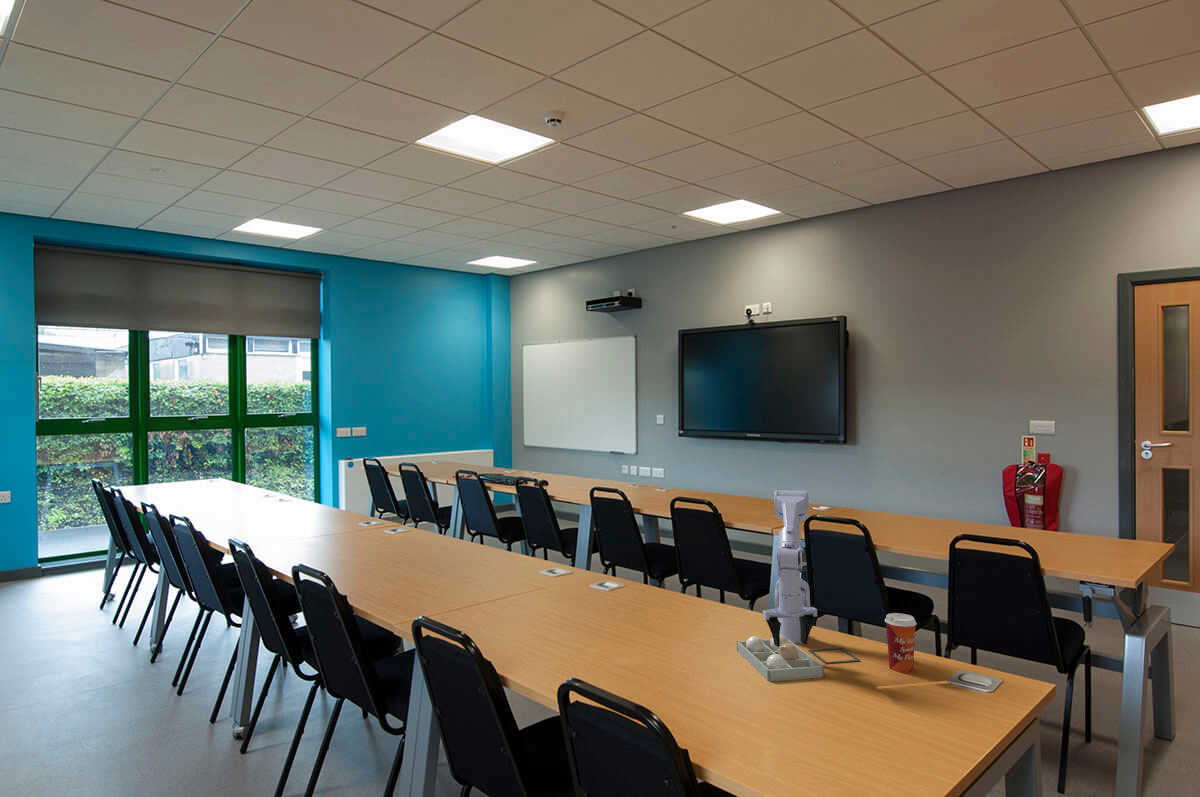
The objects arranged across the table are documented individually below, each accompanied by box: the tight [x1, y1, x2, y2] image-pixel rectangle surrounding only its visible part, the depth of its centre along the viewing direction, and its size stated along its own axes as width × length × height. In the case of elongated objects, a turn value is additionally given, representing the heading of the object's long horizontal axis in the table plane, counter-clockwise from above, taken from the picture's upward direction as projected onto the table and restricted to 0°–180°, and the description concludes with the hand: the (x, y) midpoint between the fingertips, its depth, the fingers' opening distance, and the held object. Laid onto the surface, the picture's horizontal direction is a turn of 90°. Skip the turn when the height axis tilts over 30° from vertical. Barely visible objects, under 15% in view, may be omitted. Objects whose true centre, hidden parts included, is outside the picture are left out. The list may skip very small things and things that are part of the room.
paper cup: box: [884, 612, 918, 674], centre depth 181 cm, size 8×8×14 cm
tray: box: [736, 638, 825, 682], centre depth 185 cm, size 22×15×3 cm
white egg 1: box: [745, 635, 764, 653], centre depth 192 cm, size 5×5×5 cm
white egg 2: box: [770, 635, 789, 651], centre depth 193 cm, size 5×5×5 cm
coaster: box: [808, 647, 862, 665], centre depth 190 cm, size 10×10×1 cm
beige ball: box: [778, 643, 798, 661], centre depth 186 cm, size 5×5×5 cm
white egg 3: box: [766, 654, 786, 670], centre depth 178 cm, size 5×5×5 cm
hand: (790, 644), depth 186 cm, fingers open, 7 cm apart
